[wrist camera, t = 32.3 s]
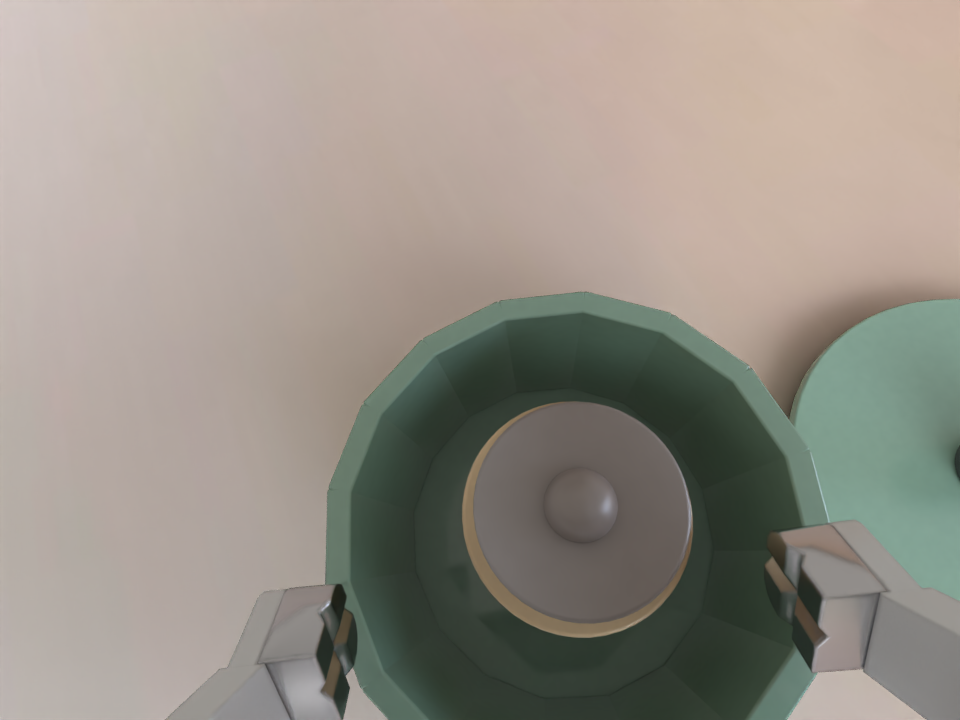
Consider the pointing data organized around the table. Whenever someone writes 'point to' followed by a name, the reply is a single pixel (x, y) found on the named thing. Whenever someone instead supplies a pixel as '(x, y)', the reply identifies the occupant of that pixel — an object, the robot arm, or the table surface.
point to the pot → (456, 584)
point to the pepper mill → (577, 519)
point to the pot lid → (892, 434)
